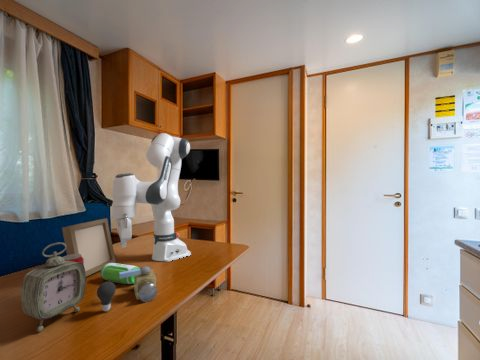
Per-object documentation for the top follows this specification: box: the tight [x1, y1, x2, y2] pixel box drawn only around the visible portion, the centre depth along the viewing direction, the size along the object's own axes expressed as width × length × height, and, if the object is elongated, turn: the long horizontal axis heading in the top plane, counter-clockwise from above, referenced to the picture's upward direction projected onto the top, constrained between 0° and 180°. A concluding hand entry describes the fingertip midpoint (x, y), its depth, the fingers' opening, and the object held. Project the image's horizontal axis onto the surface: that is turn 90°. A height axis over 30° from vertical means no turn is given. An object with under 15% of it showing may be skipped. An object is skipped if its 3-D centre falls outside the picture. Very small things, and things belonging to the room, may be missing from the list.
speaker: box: [99, 262, 140, 285], centre depth 101 cm, size 18×7×8 cm, turn 72°
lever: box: [119, 265, 151, 278], centre depth 87 cm, size 11×4×2 cm, turn 122°
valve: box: [133, 268, 158, 303], centre depth 89 cm, size 7×14×8 cm, turn 32°
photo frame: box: [61, 217, 117, 278], centre depth 112 cm, size 15×22×25 cm
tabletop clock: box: [20, 241, 87, 333], centre depth 73 cm, size 14×9×25 cm, turn 160°
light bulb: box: [96, 281, 117, 312], centre depth 77 cm, size 6×6×10 cm
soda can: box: [61, 254, 84, 265], centre depth 90 cm, size 8×8×15 cm
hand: (123, 246), depth 91 cm, fingers closed
